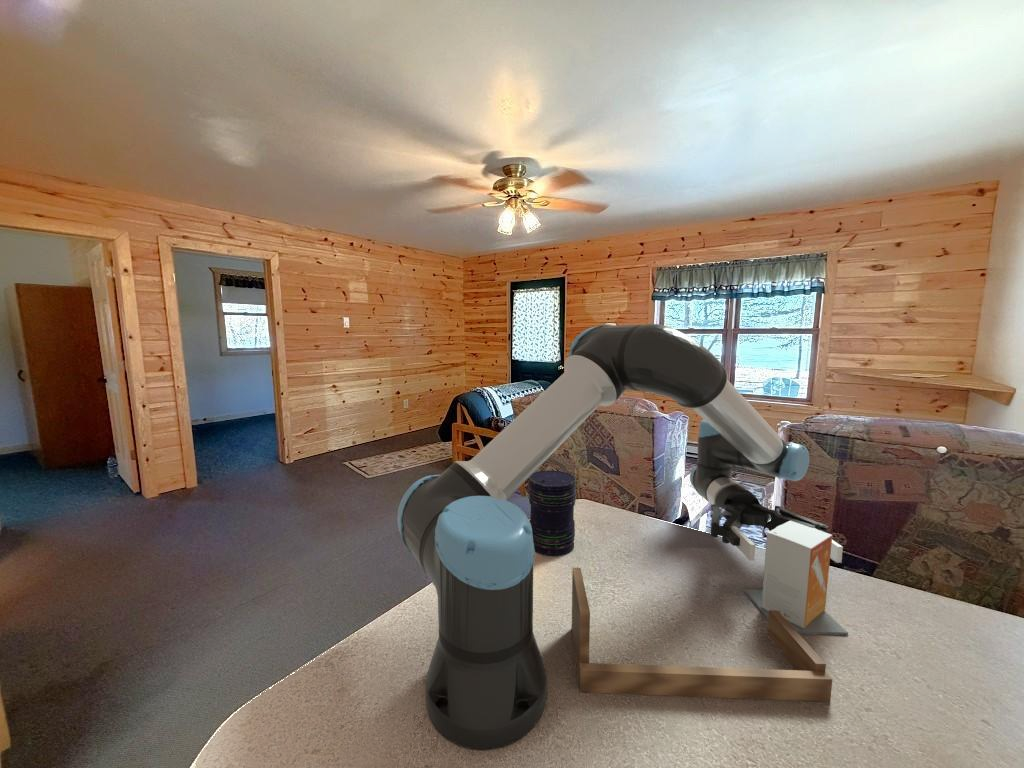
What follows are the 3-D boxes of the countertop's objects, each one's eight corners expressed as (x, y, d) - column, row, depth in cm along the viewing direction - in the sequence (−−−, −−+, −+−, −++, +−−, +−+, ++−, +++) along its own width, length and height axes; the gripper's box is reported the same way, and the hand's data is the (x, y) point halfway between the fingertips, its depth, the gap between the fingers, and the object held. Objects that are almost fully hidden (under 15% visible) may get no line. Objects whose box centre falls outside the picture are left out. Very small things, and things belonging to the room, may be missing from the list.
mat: (779, 633, 61) (779, 630, 61) (744, 591, 71) (744, 589, 71) (847, 635, 61) (848, 632, 61) (803, 593, 71) (803, 591, 71)
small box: (804, 630, 61) (811, 548, 60) (760, 607, 66) (765, 531, 65) (826, 610, 66) (833, 534, 64) (783, 590, 71) (788, 519, 69)
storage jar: (550, 529, 95) (550, 467, 93) (584, 545, 87) (585, 478, 86) (519, 544, 88) (519, 477, 86) (553, 562, 81) (554, 490, 79)
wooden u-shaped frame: (580, 692, 51) (581, 618, 50) (571, 628, 62) (572, 567, 61) (830, 701, 50) (837, 626, 49) (775, 635, 61) (780, 572, 60)
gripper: (792, 519, 86) (874, 577, 65) (672, 516, 88) (715, 573, 67) (794, 485, 86) (879, 533, 65) (674, 483, 87) (717, 529, 66)
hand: (796, 553), depth 66 cm, fingers open, 13 cm apart
